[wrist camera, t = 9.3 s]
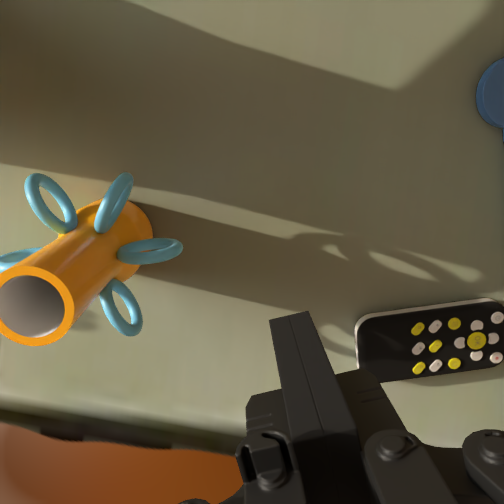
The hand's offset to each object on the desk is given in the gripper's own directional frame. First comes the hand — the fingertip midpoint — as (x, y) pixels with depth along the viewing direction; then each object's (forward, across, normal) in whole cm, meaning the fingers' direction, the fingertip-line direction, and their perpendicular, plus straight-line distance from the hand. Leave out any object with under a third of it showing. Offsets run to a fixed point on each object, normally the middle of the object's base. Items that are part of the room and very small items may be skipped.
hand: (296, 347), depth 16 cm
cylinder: (+20, -11, +3) cm, 23 cm away
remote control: (+20, +12, -13) cm, 26 cm away
